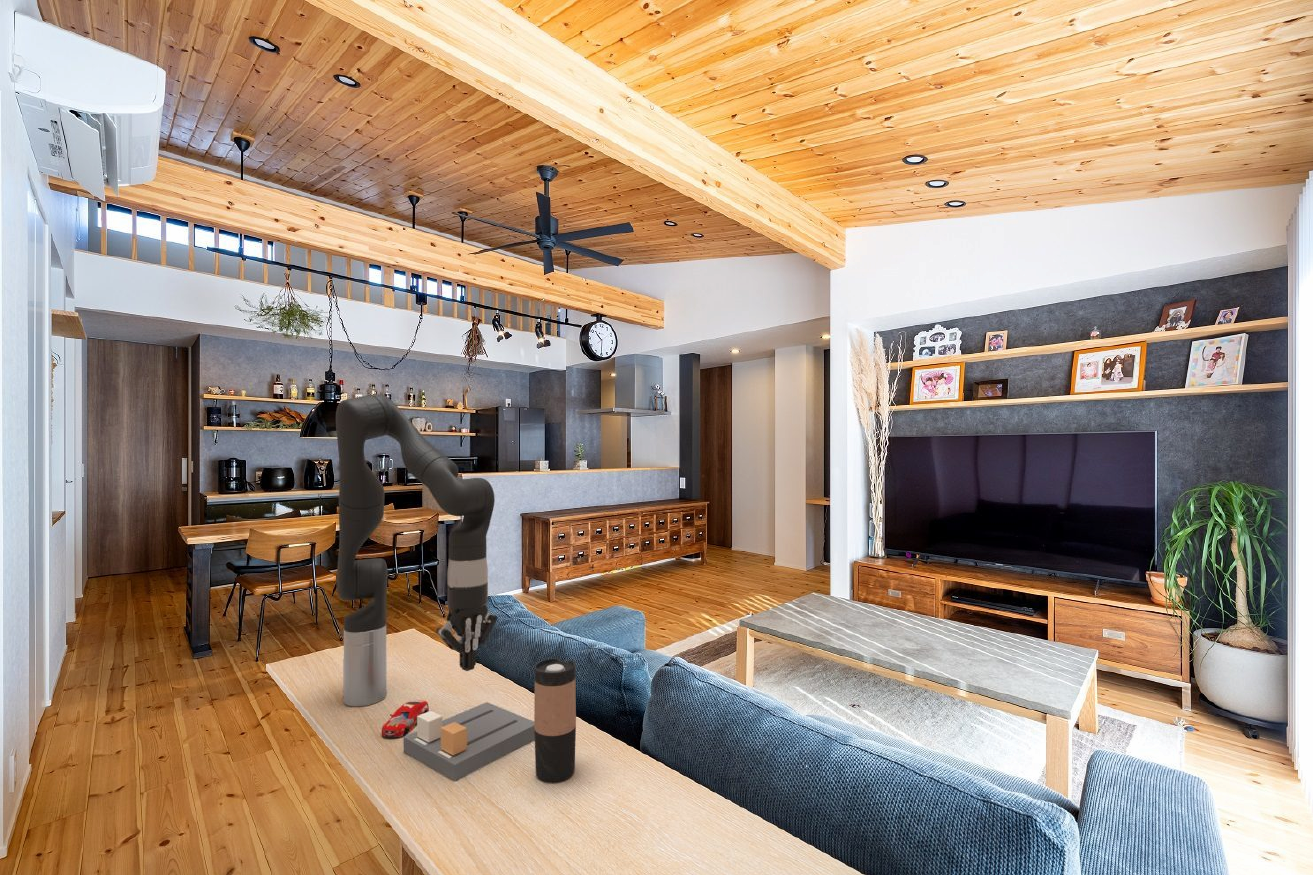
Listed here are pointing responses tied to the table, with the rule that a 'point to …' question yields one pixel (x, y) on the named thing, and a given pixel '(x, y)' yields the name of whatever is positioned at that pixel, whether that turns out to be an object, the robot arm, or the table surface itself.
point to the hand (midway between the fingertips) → (467, 669)
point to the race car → (404, 719)
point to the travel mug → (555, 720)
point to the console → (474, 740)
